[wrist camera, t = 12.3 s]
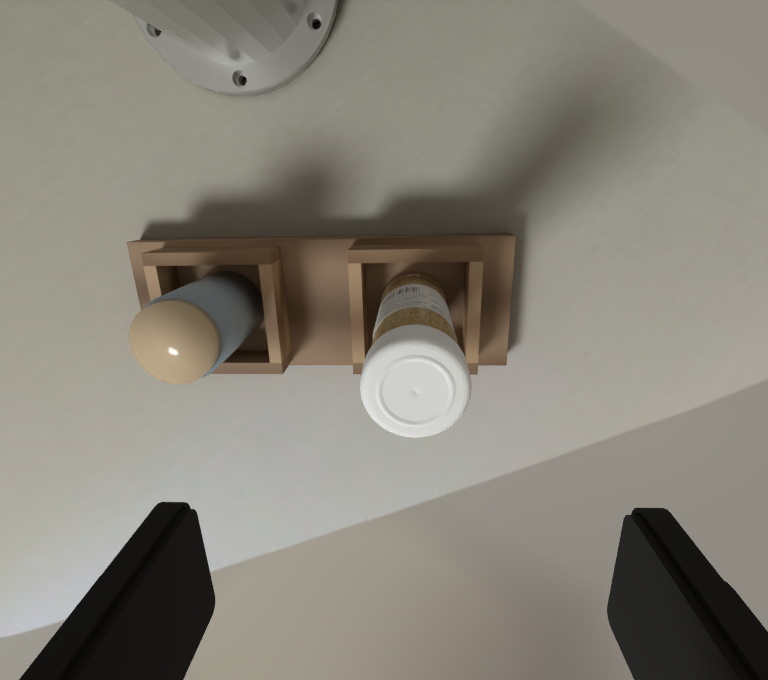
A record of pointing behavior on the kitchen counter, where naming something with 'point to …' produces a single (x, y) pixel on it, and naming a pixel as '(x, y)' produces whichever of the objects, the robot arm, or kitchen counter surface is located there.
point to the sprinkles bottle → (415, 361)
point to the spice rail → (340, 290)
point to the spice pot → (196, 326)
